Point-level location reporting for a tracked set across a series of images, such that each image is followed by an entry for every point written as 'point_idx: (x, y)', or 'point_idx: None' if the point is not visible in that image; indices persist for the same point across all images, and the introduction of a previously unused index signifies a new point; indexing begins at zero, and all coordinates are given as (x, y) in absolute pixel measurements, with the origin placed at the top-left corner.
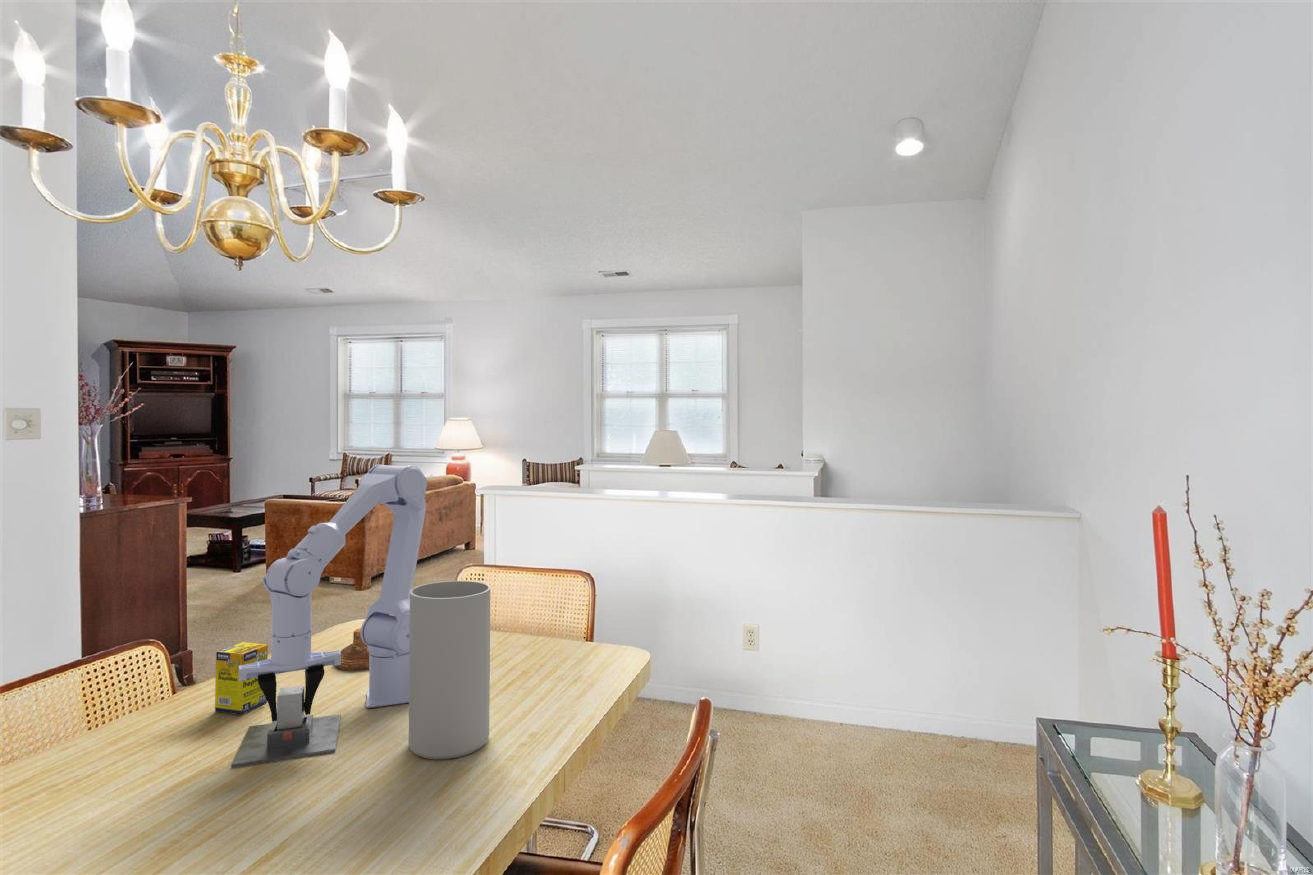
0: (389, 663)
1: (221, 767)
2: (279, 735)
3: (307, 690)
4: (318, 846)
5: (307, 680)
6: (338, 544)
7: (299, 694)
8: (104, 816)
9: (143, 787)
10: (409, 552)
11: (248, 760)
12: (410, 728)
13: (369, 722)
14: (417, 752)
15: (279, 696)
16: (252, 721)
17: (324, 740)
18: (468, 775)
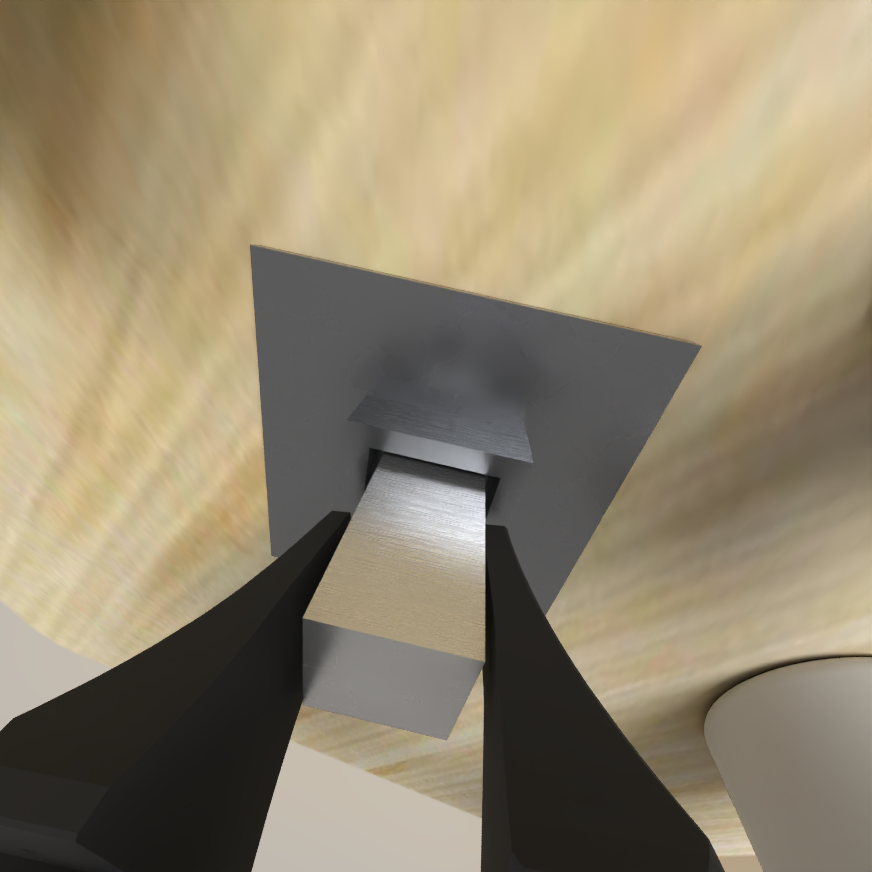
0: None
1: (249, 530)
2: None
3: (484, 744)
4: (441, 785)
5: (483, 856)
6: None
7: (433, 730)
8: (95, 595)
9: (98, 529)
10: None
11: None
12: (746, 800)
13: (757, 478)
14: (706, 742)
15: (317, 702)
16: (247, 101)
17: (531, 561)
18: (728, 794)
